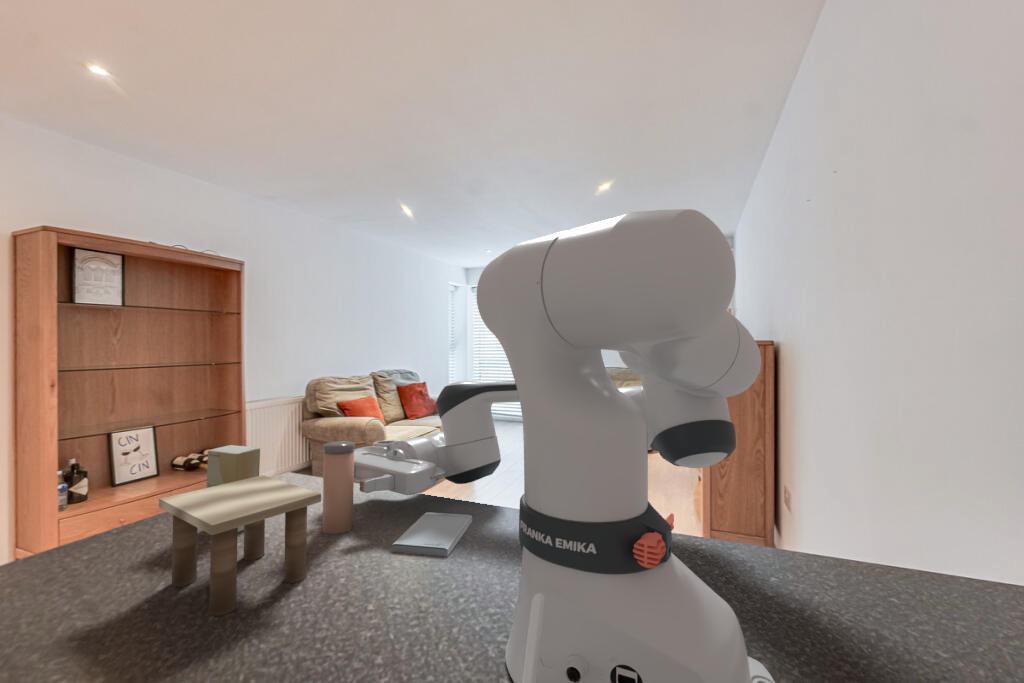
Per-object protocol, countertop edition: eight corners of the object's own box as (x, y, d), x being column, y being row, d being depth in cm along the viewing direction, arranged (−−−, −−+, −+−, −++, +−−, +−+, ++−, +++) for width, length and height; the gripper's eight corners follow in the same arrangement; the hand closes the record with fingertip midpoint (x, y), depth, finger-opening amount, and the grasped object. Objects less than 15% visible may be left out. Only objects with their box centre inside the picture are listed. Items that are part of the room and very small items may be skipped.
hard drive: (447, 548, 60) (472, 514, 72) (390, 543, 61) (424, 510, 74) (447, 560, 60) (472, 524, 72) (390, 555, 61) (424, 520, 74)
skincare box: (203, 529, 68) (204, 449, 69) (228, 519, 73) (230, 444, 73) (235, 535, 66) (237, 452, 67) (260, 524, 71) (261, 446, 71)
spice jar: (359, 526, 70) (361, 443, 70) (333, 537, 66) (335, 449, 66) (341, 520, 72) (342, 439, 72) (315, 529, 68) (316, 444, 69)
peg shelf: (320, 575, 55) (321, 493, 55) (210, 625, 45) (212, 525, 45) (261, 546, 62) (262, 475, 63) (157, 583, 53) (159, 498, 53)
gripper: (451, 490, 76) (387, 516, 64) (373, 472, 87) (306, 490, 76) (451, 453, 76) (387, 472, 64) (373, 439, 87) (307, 453, 76)
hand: (343, 481), depth 70 cm, fingers open, 8 cm apart
